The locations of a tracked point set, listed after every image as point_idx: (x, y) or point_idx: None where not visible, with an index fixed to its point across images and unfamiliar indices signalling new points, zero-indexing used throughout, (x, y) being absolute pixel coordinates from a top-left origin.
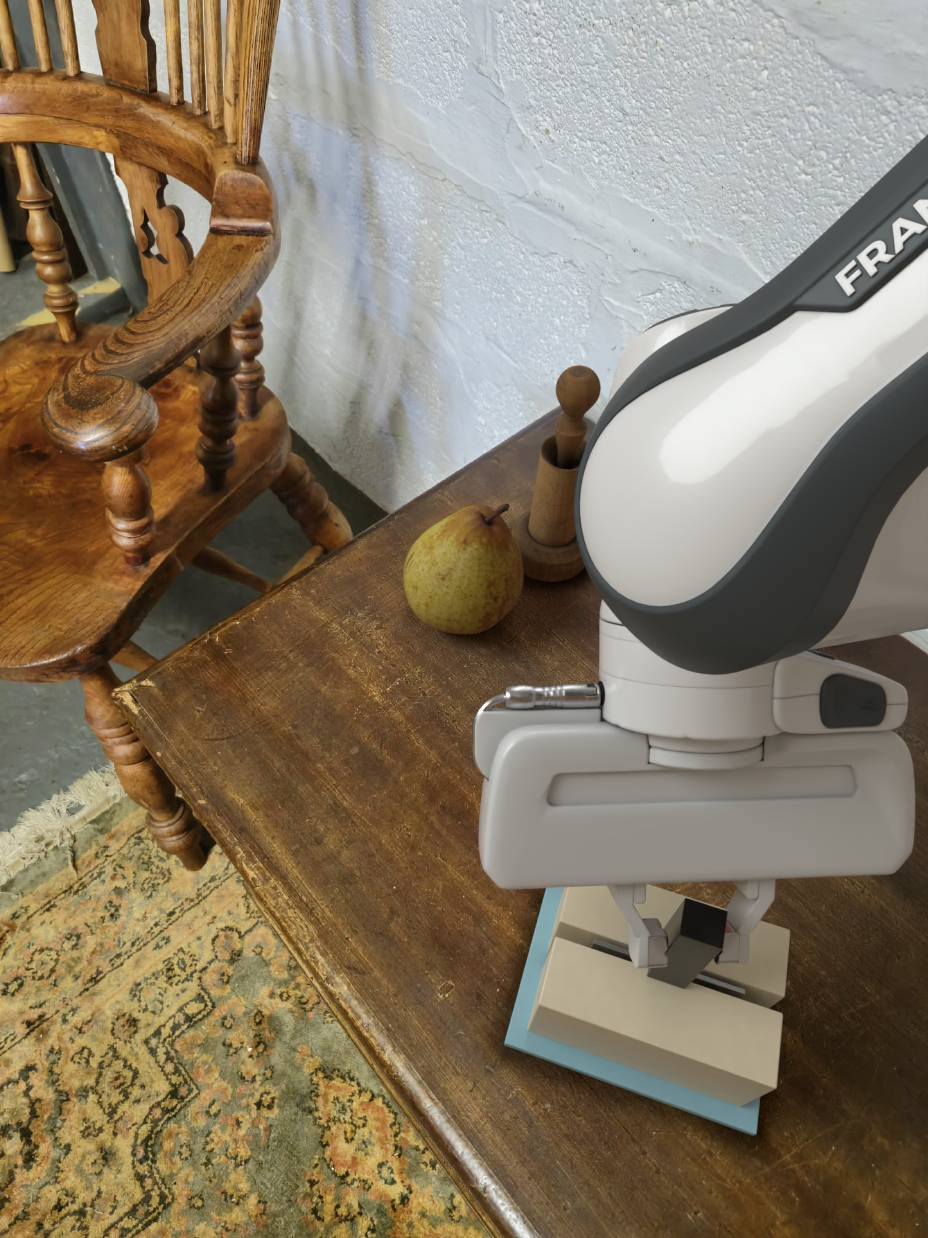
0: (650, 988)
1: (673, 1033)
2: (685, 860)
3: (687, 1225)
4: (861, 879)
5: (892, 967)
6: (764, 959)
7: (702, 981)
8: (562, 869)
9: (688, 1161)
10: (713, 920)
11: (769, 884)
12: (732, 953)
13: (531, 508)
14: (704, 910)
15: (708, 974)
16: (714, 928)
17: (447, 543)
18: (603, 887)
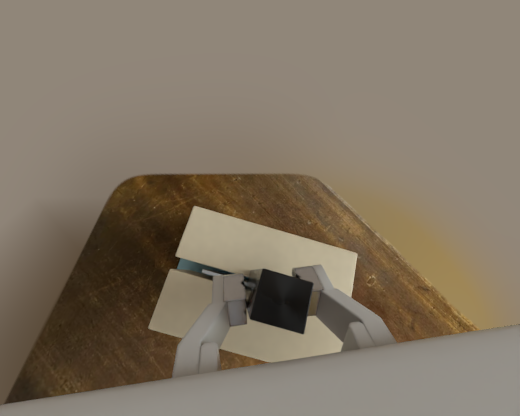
0: (276, 269)
1: (262, 238)
2: (338, 396)
3: (241, 174)
4: (61, 393)
5: (68, 316)
6: (179, 299)
7: None
8: (515, 355)
9: (236, 200)
10: (270, 304)
11: (182, 367)
12: (230, 281)
13: None
14: (280, 317)
15: None
16: (270, 293)
17: None
18: (313, 355)
